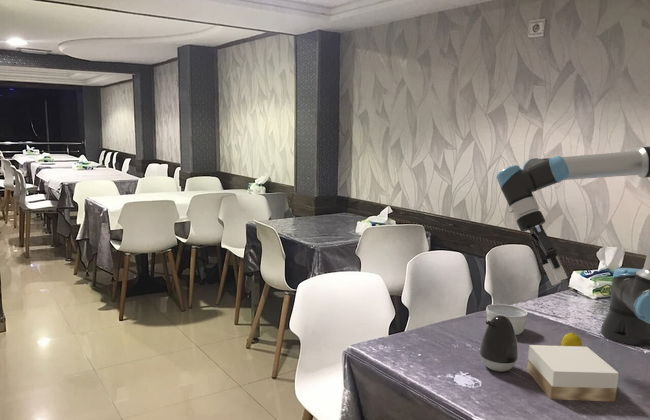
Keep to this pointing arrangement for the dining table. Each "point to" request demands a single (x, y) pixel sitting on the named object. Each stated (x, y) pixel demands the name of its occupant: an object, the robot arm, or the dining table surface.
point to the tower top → (572, 367)
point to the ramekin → (509, 315)
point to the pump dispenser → (499, 344)
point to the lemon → (571, 340)
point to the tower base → (571, 389)
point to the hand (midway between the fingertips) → (559, 282)
